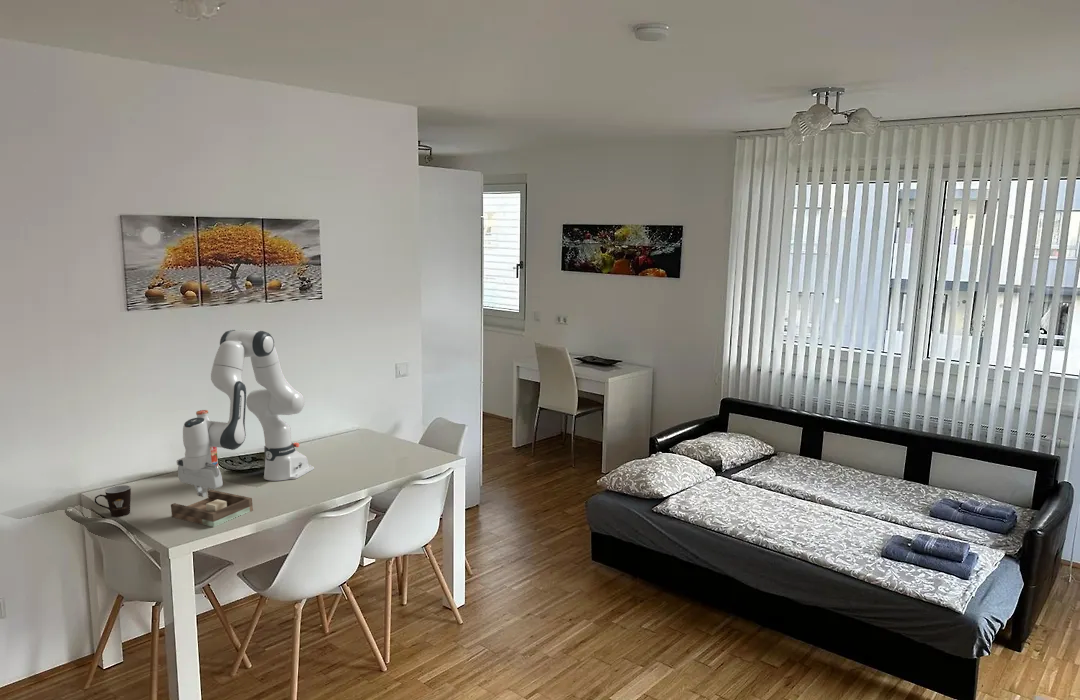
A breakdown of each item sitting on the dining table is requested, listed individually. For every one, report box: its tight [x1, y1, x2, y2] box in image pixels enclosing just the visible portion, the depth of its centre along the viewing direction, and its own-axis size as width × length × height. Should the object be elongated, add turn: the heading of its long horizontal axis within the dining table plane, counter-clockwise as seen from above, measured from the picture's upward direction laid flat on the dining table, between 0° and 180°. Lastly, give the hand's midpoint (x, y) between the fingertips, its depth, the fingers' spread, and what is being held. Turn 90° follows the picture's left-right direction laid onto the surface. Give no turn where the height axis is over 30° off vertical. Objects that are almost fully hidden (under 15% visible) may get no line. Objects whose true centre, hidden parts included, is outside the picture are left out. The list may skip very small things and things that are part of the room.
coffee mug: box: [94, 484, 132, 518], centre depth 283 cm, size 12×9×10 cm
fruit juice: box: [195, 409, 219, 468], centre depth 332 cm, size 9×9×28 cm
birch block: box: [206, 499, 227, 512], centre depth 276 cm, size 5×5×5 cm
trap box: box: [170, 489, 254, 528], centre depth 283 cm, size 23×18×5 cm
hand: (202, 496), depth 280 cm, fingers closed
